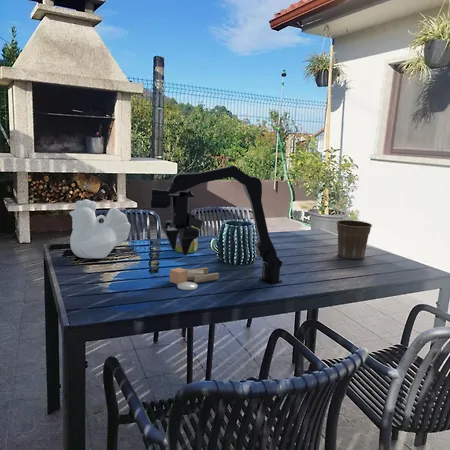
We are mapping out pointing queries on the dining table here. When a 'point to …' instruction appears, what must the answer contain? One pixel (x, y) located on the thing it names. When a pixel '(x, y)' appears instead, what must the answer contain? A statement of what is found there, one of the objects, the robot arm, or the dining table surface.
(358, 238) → the plant pot
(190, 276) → the beige rectangular block
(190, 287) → the white flat disc
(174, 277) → the block
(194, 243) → the chalk box
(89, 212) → the decorative rooster
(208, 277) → the channel
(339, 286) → the dining table surface
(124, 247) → the dining table surface
